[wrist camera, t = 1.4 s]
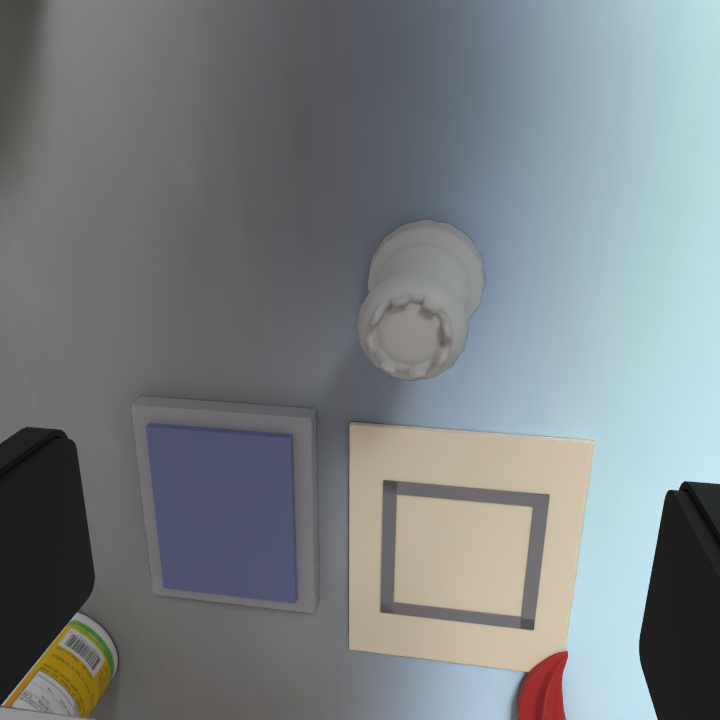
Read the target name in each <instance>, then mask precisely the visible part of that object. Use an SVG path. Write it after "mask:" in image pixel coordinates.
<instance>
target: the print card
mask: <svg viewBox="0 0 720 720" xmlns="http://www.w3.org/2000/svg"><path fill="white" fill-rule="evenodd" d="M593 450H594V441H593V440H582V439H569V438H556V437H543V436H530V435H516V434H503V433H490V432H477V431H464V430H451V429H437V428H424V427H411V426H398V425H385V424H372V423H358V422H351V423H350V462H349V649H350V650H358V651H366V652H374V653H382V654H390V655H398V656H406V657H414V658H421V659H429V660H437V661H445V662H453V663H461V664H469V665H477V666H485V667H493V668H501V669H509V670H517V671H525V672H530V671H531V670H532V669H533V668H534V667H535V666H536V665H538V664H539V663H540V662H542V661H543V660H545V659H546V658H548V657H550V656H552V655H554V654H556V653H559V652H564V651H565V650H566V642H567V635H568V628H569V621H570V614H571V607H572V600H573V593H574V585H575V578H576V571H577V564H578V557H579V550H580V543H581V536H582V528H583V521H584V514H585V507H586V500H587V493H588V486H589V479H590V472H591V464H592V457H593Z"/></svg>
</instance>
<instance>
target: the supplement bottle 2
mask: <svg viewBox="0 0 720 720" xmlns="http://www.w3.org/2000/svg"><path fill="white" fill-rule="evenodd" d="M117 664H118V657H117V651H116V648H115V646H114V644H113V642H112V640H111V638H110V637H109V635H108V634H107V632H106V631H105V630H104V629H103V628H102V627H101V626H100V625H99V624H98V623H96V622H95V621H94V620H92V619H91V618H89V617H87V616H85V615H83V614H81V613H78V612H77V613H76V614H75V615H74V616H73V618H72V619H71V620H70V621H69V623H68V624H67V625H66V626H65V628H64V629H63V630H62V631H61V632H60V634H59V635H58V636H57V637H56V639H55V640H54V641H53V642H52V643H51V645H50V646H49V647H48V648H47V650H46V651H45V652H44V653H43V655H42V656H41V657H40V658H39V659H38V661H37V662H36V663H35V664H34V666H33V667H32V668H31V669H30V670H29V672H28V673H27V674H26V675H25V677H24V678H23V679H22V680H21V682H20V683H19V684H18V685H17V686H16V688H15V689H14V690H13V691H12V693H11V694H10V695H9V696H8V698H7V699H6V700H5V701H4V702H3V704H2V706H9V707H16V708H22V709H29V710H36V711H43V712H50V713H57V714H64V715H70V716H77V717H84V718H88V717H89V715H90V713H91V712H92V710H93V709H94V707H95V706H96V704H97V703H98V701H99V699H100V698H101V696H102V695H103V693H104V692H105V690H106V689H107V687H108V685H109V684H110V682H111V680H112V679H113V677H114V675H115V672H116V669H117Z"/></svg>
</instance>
